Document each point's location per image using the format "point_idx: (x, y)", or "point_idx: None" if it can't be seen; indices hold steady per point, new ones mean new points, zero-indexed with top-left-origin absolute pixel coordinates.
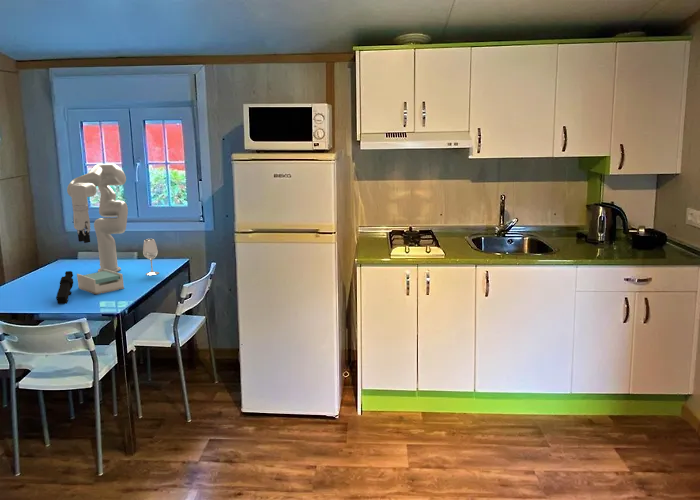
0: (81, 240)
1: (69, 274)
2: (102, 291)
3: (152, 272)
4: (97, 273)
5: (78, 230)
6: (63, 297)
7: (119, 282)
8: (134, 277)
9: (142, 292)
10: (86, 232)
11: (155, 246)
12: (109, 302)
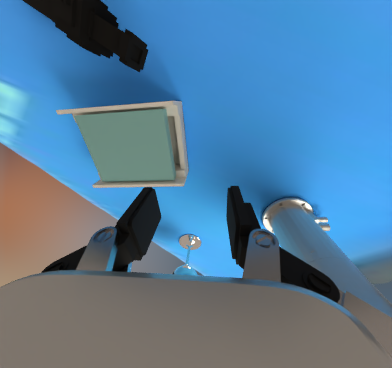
0: (228, 202)
1: (111, 45)
2: None
3: (186, 243)
4: (157, 156)
5: (244, 271)
6: None
7: None
8: (188, 217)
9: (67, 181)
10: (54, 262)
11: None
12: (7, 104)
